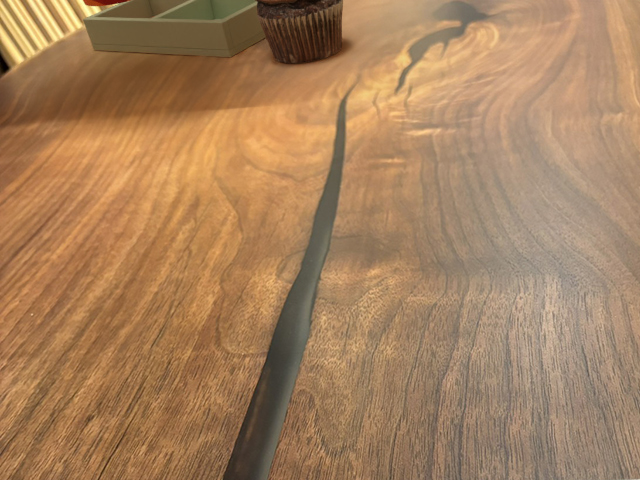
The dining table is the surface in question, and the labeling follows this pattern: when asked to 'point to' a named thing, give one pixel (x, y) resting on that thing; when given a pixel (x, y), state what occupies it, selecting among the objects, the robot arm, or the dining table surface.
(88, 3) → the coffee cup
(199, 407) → the dining table surface
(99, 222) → the dining table surface
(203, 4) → the holder
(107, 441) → the dining table surface
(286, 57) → the cupcake
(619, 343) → the dining table surface
